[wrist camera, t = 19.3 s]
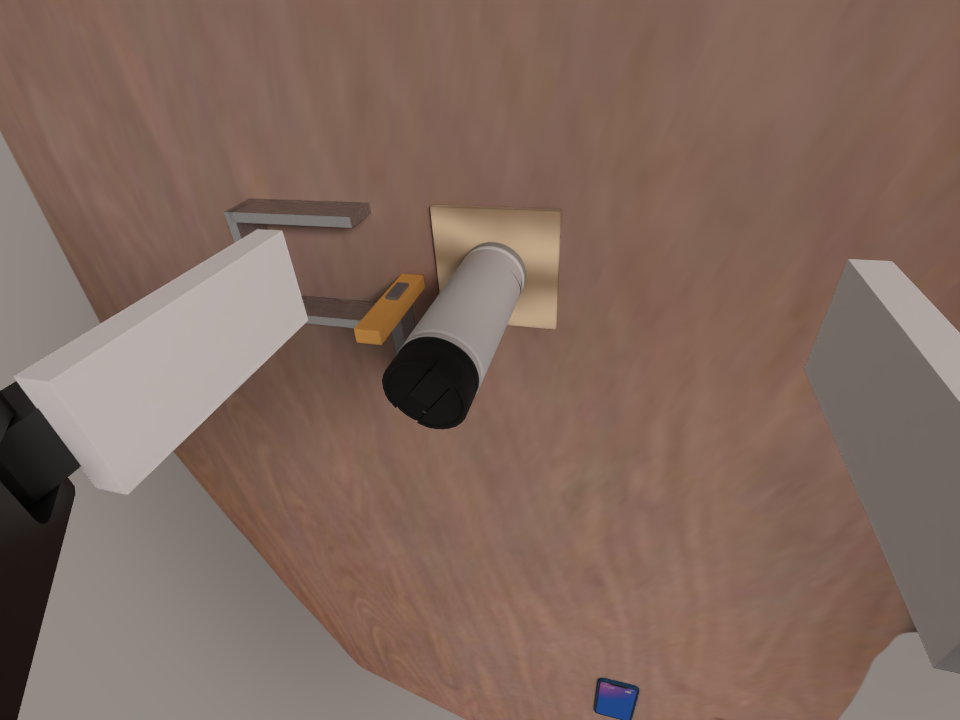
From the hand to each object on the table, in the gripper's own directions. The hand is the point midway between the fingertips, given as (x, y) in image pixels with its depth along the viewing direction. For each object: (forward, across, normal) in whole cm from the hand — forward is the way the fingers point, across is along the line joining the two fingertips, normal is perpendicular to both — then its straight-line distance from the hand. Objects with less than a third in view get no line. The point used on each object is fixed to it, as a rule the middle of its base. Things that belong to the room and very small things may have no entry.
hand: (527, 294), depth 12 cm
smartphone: (+33, +11, -102) cm, 108 cm away
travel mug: (+32, -9, -15) cm, 37 cm away
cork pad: (+33, -9, -15) cm, 37 cm away
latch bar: (+33, -18, -23) cm, 44 cm away
